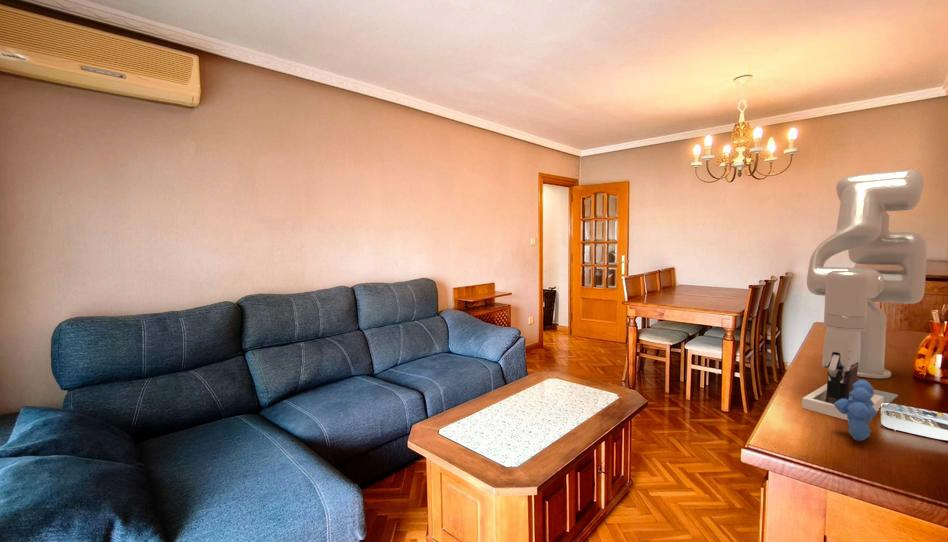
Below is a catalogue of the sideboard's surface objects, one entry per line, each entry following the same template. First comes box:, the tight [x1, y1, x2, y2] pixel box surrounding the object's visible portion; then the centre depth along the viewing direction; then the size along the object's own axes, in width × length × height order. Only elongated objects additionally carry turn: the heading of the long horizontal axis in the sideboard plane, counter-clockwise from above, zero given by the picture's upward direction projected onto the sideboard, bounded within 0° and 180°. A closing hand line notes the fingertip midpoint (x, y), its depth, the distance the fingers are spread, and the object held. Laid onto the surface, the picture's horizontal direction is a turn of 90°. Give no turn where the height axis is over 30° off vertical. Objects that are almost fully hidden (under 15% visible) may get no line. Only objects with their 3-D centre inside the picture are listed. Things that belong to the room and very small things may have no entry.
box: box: [825, 362, 858, 404], centre depth 98 cm, size 6×4×12 cm
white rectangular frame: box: [801, 383, 884, 422], centre depth 99 cm, size 16×11×2 cm, turn 123°
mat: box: [871, 389, 899, 404], centre depth 107 cm, size 11×12×1 cm
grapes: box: [834, 379, 878, 442], centre depth 85 cm, size 12×7×12 cm, turn 132°
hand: (841, 394), depth 98 cm, fingers closed on box, 5 cm apart
